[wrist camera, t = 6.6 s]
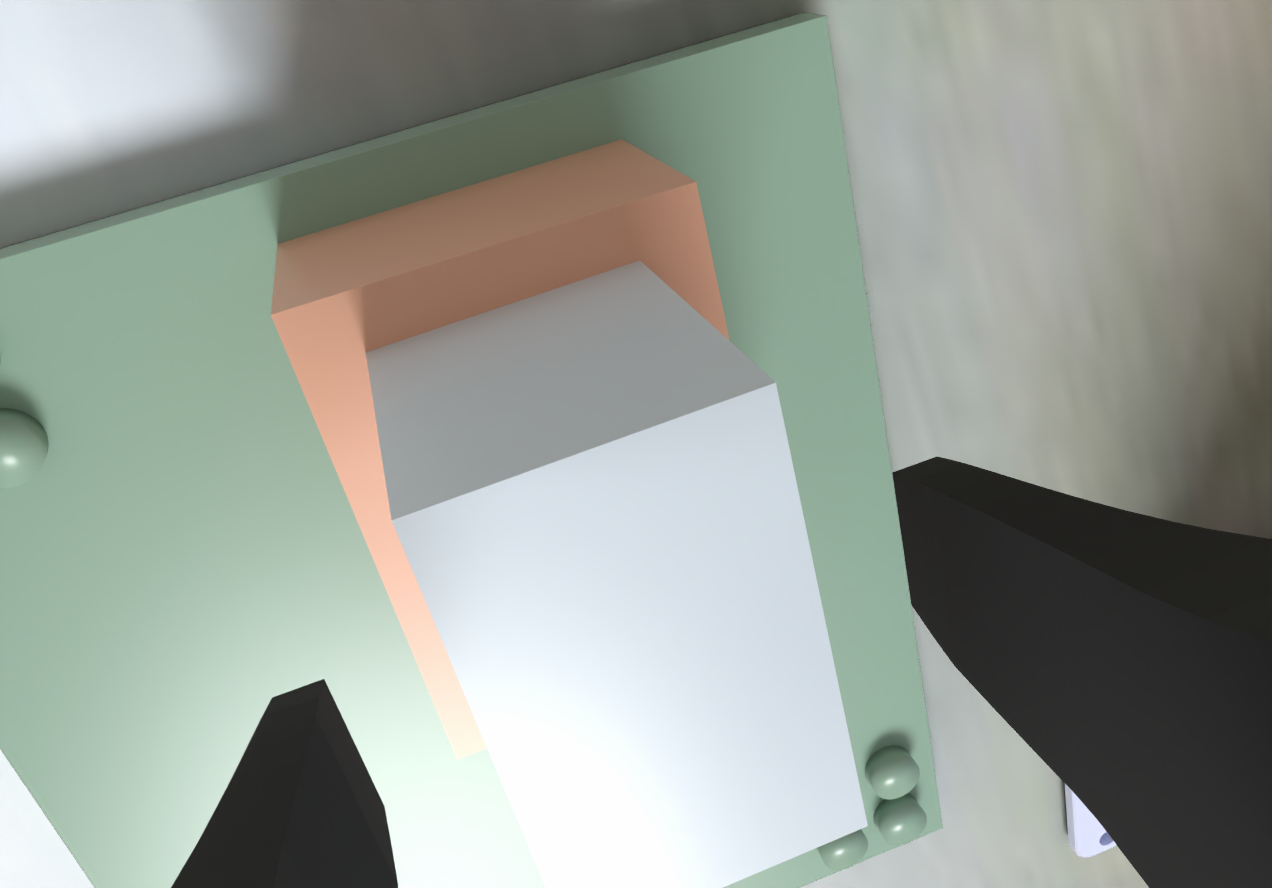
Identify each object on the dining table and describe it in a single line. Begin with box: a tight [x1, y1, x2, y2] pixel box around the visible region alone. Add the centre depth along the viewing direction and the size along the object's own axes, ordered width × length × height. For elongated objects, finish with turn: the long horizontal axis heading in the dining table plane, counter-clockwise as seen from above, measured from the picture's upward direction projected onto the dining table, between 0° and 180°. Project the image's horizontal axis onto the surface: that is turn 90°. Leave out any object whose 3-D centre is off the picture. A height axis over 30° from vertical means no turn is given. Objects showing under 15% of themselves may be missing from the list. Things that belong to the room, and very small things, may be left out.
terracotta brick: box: [271, 139, 730, 760], centre depth 18 cm, size 6×8×4 cm
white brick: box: [366, 260, 868, 888], centre depth 14 cm, size 4×6×5 cm, turn 14°
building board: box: [0, 13, 943, 888], centre depth 22 cm, size 18×20×2 cm
